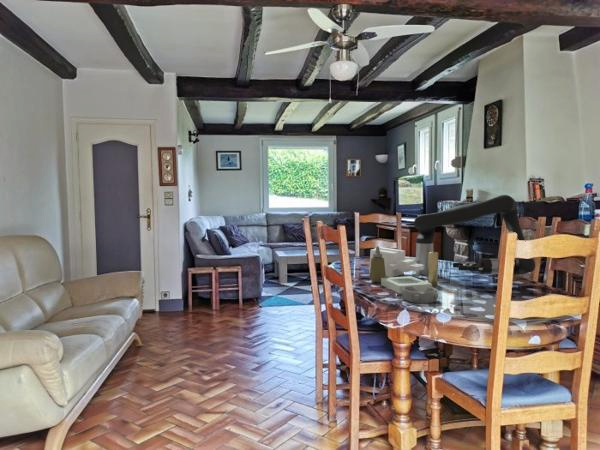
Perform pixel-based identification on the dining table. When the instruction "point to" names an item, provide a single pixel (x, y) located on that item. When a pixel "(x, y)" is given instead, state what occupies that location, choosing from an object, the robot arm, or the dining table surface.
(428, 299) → the dish
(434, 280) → the tan rectangular block
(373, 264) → the squeeze bottle
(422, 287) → the tray
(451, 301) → the dining table surface
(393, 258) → the blocky voxel creature
